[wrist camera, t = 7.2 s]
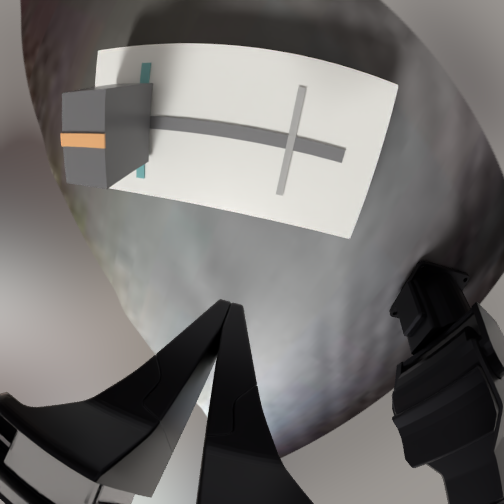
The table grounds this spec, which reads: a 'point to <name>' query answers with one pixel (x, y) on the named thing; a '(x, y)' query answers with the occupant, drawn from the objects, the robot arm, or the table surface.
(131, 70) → the console
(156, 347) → the table surface
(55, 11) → the table surface
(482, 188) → the table surface
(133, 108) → the fader
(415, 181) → the table surface
